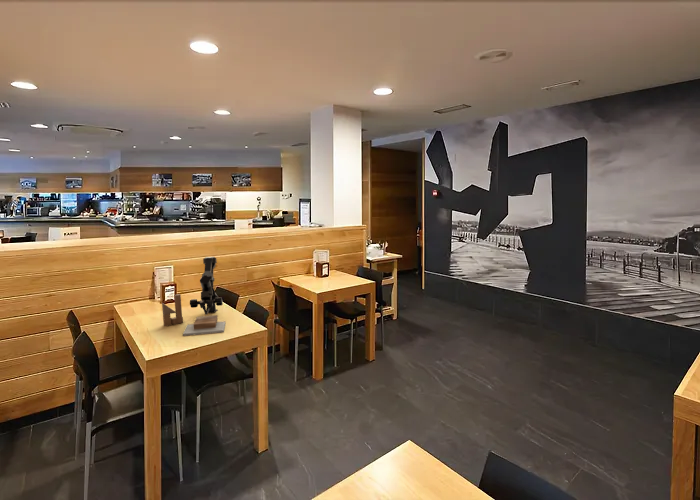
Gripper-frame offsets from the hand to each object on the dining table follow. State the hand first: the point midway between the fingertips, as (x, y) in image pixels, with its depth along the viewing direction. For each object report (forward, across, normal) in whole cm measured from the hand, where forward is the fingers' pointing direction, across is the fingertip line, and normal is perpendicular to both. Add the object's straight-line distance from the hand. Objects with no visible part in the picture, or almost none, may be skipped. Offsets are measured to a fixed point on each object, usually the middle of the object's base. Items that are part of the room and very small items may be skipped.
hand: (205, 314), depth 242 cm
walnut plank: (0, 0, +6) cm, 6 cm away
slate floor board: (+10, 0, 0) cm, 10 cm away
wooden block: (-1, -20, +11) cm, 23 cm away
